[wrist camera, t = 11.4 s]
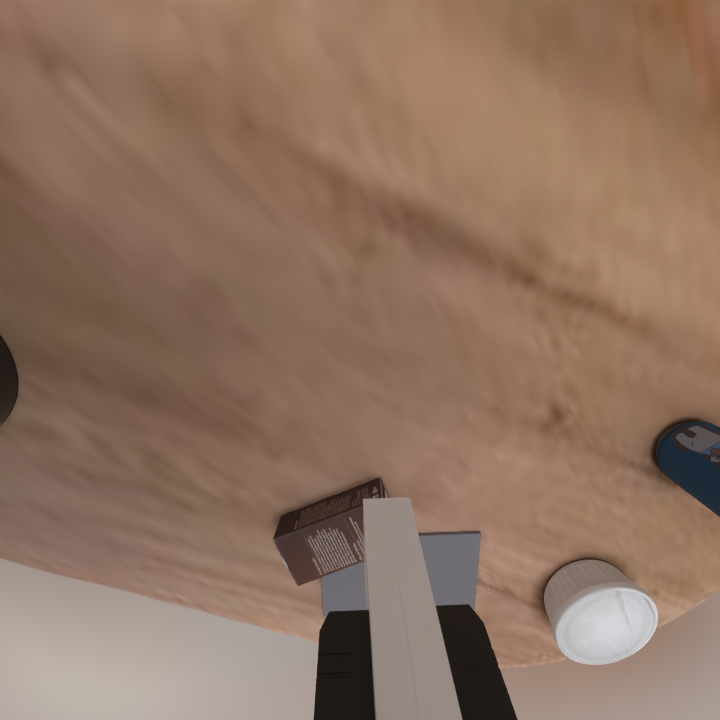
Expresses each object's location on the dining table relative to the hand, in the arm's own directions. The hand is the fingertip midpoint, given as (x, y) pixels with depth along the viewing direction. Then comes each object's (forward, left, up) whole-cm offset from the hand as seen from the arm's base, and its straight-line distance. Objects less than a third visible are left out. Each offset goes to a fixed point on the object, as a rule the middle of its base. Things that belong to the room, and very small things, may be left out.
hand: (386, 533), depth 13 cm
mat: (+4, -29, -26) cm, 39 cm away
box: (+3, -18, -24) cm, 30 cm away
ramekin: (+26, -32, -27) cm, 49 cm away
